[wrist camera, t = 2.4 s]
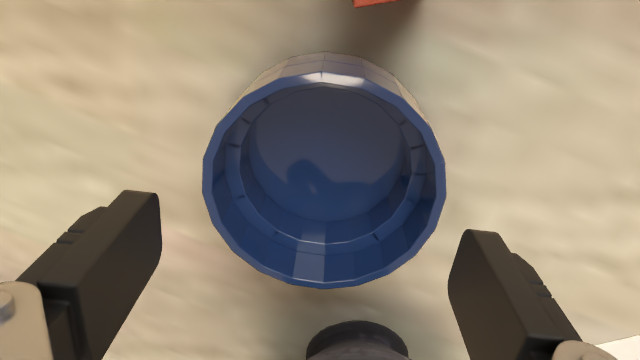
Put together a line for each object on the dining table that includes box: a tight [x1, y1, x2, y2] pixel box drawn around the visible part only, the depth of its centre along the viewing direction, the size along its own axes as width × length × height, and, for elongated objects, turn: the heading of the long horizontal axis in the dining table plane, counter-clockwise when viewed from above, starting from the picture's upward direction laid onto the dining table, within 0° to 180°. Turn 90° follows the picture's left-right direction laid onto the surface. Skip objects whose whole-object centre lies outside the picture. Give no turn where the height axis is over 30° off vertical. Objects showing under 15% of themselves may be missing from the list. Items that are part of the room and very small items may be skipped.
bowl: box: [202, 52, 446, 289], centre depth 27 cm, size 14×14×6 cm
